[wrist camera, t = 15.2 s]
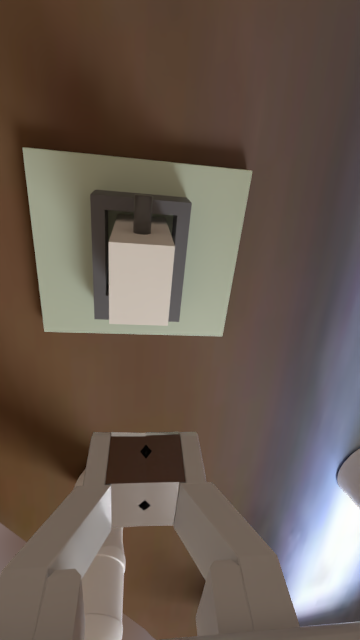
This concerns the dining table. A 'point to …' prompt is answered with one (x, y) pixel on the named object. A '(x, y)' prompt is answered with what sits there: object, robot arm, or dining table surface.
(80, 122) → the dining table surface
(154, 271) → the keyed plug
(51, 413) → the dining table surface
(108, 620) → the water bottle
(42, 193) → the socket board
